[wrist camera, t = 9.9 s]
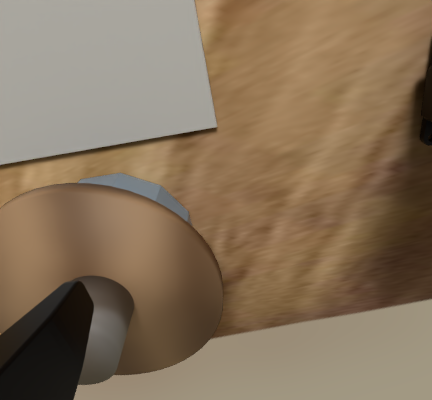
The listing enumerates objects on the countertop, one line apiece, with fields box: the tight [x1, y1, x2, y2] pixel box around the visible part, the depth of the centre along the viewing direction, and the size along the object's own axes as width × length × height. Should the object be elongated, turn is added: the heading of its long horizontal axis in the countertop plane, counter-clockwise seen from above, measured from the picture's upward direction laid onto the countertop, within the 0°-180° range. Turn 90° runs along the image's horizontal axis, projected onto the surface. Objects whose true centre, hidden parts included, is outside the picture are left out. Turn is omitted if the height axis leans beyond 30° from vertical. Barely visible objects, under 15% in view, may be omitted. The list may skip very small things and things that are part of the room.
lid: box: [0, 183, 223, 385], centre depth 17 cm, size 14×14×4 cm
